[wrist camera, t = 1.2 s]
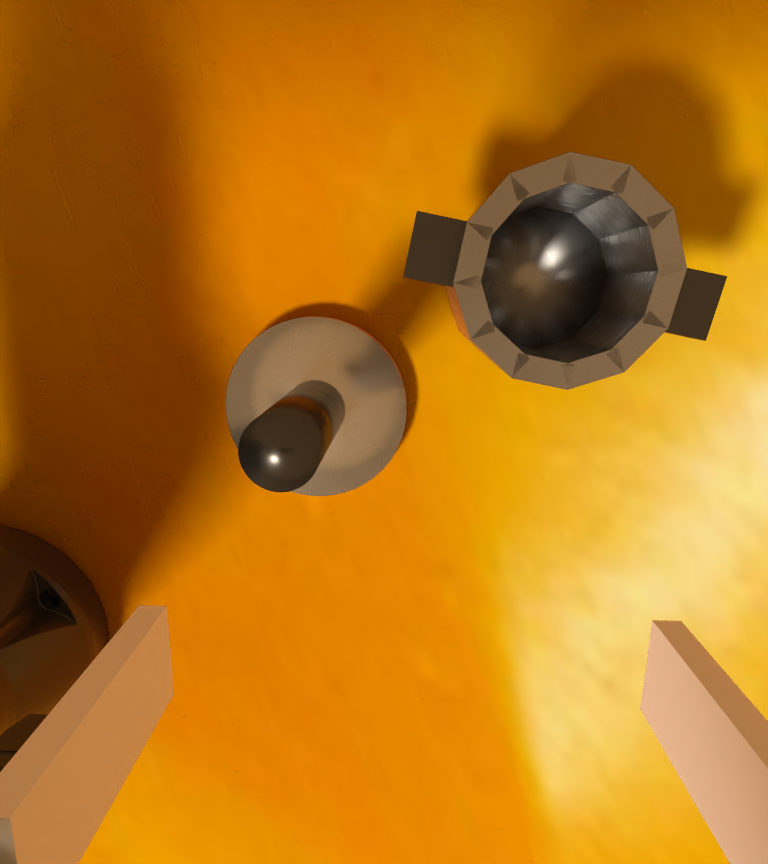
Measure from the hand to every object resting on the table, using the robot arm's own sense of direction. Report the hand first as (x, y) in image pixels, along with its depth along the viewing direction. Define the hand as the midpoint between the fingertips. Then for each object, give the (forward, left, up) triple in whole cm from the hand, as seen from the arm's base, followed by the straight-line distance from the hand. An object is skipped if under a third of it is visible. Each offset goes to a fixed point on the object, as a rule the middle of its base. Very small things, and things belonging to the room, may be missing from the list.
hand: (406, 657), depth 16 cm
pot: (+5, +12, -22) cm, 25 cm away
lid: (-6, +2, -22) cm, 23 cm away
